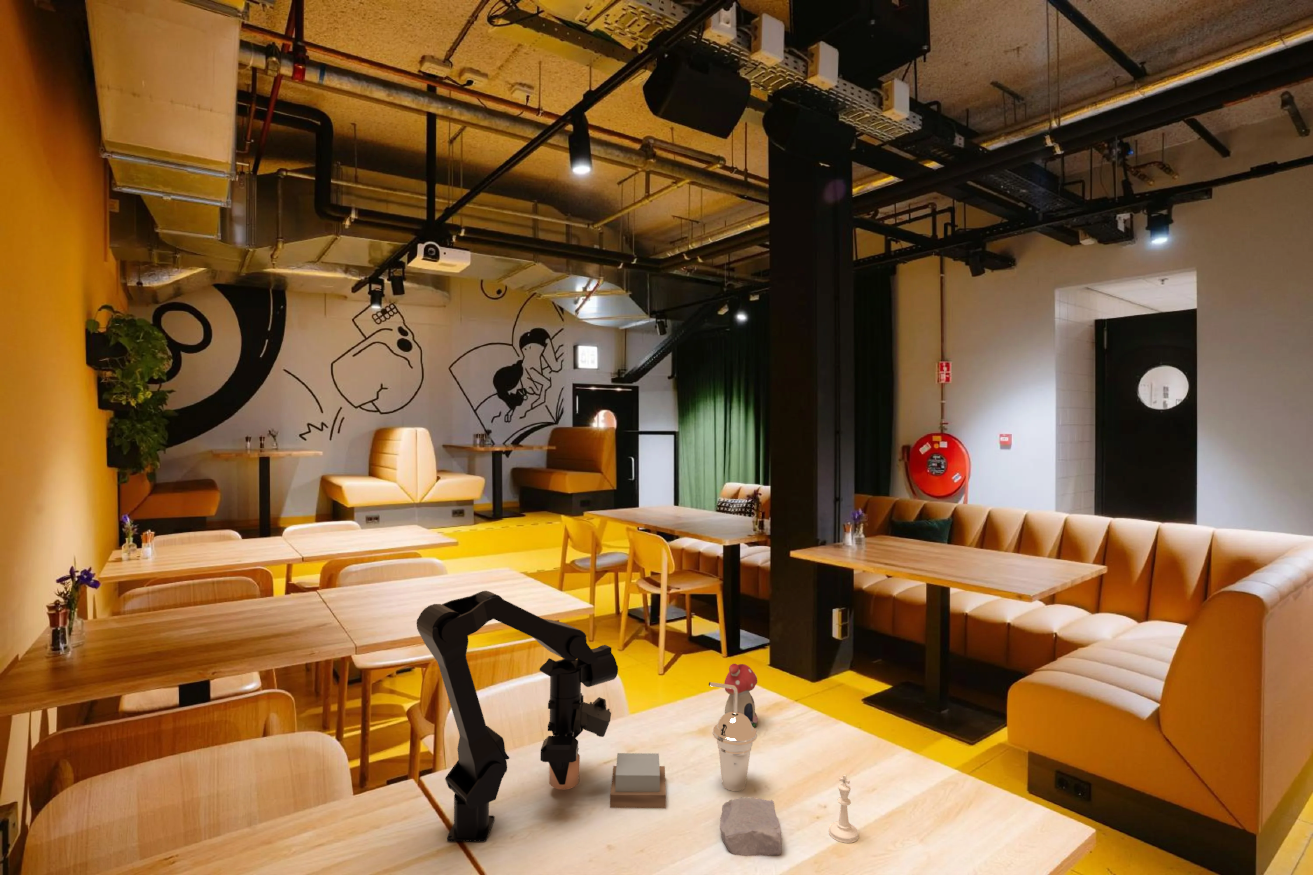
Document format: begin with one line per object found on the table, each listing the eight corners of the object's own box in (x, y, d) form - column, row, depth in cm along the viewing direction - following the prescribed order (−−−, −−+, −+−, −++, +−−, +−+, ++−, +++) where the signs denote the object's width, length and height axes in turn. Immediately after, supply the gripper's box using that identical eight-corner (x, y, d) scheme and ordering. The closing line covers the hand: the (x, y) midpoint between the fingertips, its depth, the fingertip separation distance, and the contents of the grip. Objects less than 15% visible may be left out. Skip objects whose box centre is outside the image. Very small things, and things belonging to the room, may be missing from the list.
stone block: (726, 868, 105) (787, 856, 105) (720, 838, 105) (782, 827, 105) (720, 825, 117) (775, 815, 117) (715, 798, 117) (770, 788, 117)
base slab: (665, 811, 118) (665, 794, 118) (610, 811, 118) (610, 794, 118) (664, 781, 128) (664, 766, 128) (613, 780, 128) (613, 765, 128)
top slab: (659, 791, 119) (659, 775, 119) (615, 791, 119) (615, 775, 119) (658, 768, 127) (658, 753, 127) (617, 768, 127) (617, 752, 127)
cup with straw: (751, 800, 121) (753, 692, 120) (704, 791, 124) (705, 686, 123) (759, 777, 129) (761, 676, 128) (714, 769, 132) (716, 670, 131)
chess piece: (835, 821, 115) (837, 764, 115) (863, 832, 112) (864, 774, 112) (823, 834, 111) (824, 776, 111) (851, 846, 108) (852, 786, 108)
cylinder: (577, 789, 120) (577, 765, 120) (547, 789, 120) (547, 764, 120) (580, 773, 126) (581, 749, 126) (551, 772, 126) (551, 749, 126)
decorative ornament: (732, 735, 146) (734, 668, 146) (715, 723, 152) (716, 659, 152) (764, 725, 151) (766, 661, 151) (746, 715, 157) (747, 652, 156)
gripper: (605, 715, 113) (603, 804, 114) (611, 674, 132) (610, 751, 132) (540, 714, 113) (539, 803, 114) (556, 673, 132) (555, 750, 132)
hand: (564, 775), depth 123 cm, fingers closed on cylinder, 6 cm apart
